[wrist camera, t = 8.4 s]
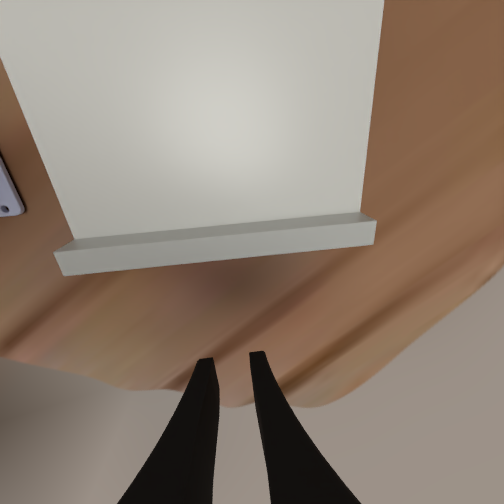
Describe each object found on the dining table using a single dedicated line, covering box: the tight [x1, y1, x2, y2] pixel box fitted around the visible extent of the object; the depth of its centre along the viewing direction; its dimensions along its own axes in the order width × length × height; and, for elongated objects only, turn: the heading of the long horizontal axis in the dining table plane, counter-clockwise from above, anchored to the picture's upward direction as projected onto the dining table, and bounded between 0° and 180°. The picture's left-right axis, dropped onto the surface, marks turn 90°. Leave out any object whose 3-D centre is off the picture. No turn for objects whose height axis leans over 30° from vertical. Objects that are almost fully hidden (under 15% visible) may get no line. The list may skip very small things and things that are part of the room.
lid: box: [0, 0, 384, 276], centre depth 10 cm, size 15×13×2 cm
